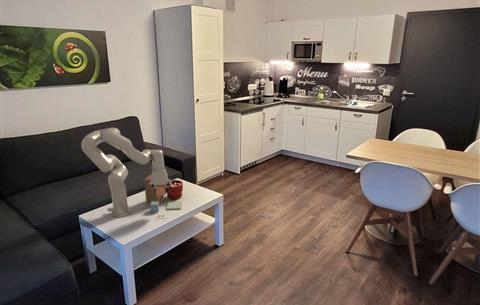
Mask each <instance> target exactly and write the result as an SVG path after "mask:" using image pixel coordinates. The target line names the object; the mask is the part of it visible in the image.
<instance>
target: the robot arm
mask: <svg viewBox="0 0 480 305" xmlns="http://www.w3.org/2000/svg"><path fill="white" fill-rule="evenodd" d="M104 142H105V143H108V144H109V145H111V146H112V147H114V148H116V149H117V150H120V151H122V152H123V153H124V154H125V155H126V156H127V157H128V159H130V160H132V161H134V162H135V163H137V164H139V165H147V164H148V163H149V162H150V161H151V163H152V166H150V169H151V175H152V180H151V181H150V182H149V184H150V185H151V186H152V187H154V188H155V192H156V185H165V191H166V194H167V192H168V186H169V185H171V183H172V181H171V180H172V179H170V178H169V177H168V176H169V175H168V172H167V169H166V168H165V161H164V160H165V159H164V152H163V150H162V149H148V148H146V149H143V150H142V151H139V150H138V149H136V148H135V147H134V146H133V144H132V141H131V139H129V138H127V137H125V136H124V135H122V134H121V131H120V130H119V129H118V128H116V127H107V128H104V129H103V128H102V129H98V130H94V131H92V132H90V133H88V134H87V135H86V136H85V137H84V138H82V141H81V149H82V152H83V153H84V154H85V155H86V157H88V158H89V159H90V160H91V161H92V162H93V164H95V166H97V168H98V170H100V171H101V172H102V173H109V172H110V173H109V174H108V177H107V181H108V184H109V185H108V186H109V188H110V194H111V201H112V207H107V208H106V209H107V212H108V213H110V212H111V216H112V217H115V218H124V217H126V216H128V215H130V214H131V212H132V210H131V209H130V208H129V206H128V203H129V202H128V197H127V195H128V194H127V189H126V185H125V179H126V178H127V177H128V175H129V171H128V168H127V167H126V166H125V165H124V164H123V163H122V162H121V160H120V159H118V157H117V156H115V155H113V154H111V153H110V154H105V153H104V152H103V150H101V149H100V148H98V147H97V146H98V145H99V144H101V143H104ZM168 181H169V183H168ZM167 183H168V184H167Z"/></svg>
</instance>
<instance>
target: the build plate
mask: <svg viewBox="0 0 480 305" xmlns="http://www.w3.org/2000/svg"><path fill="white" fill-rule="evenodd" d="M182 204H183V202H182V201H168V202H167V205H166V210H167V211H171V210H172V211H173V210H174V211H175V210H182Z"/></svg>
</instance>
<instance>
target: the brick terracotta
mask: <svg viewBox="0 0 480 305" xmlns="http://www.w3.org/2000/svg"><path fill="white" fill-rule="evenodd" d="M156 195H157V196H158V195H163V196H167V193H166V191H165V185H156Z"/></svg>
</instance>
